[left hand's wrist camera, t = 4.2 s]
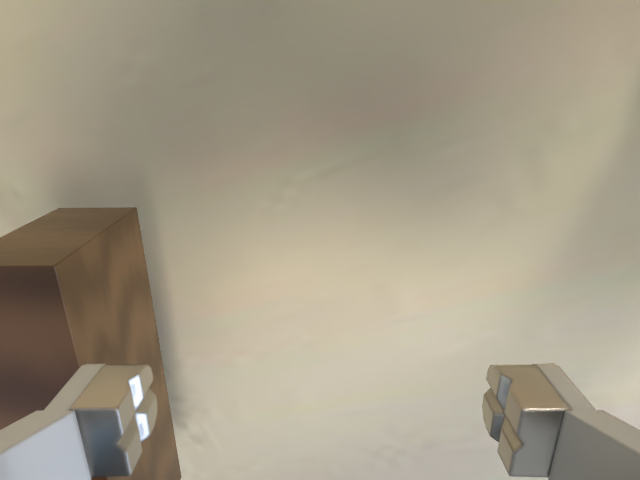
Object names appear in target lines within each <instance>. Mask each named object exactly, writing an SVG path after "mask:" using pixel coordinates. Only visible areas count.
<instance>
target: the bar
mask: <svg viewBox="0 0 640 480" xmlns="http://www.w3.org/2000/svg"><path fill="white" fill-rule="evenodd" d="M85 364H142V365H149V366H150V367H151V369H152V373H153V378H154V380H153V381H152V383H151V385H150V387H149V388H150V389H151V390H152V391H153V392H154V393H155V394H156V397H157V417H156V421H155V426H154V428H153V430H152V433H151V435H150V436H149V437H148V438H146V439H145V440H144V441H142V442H141V445H142V451H143V452H142V454H141V456H140V458H139V460H138V462H137V464H136V466H135V468H134V470H133V472H132V474H131V476H117V477H91V480H180V479H181V472H180V466H179V460H178V454H177V448H176V442H175V436H174V430H173V424H172V418H171V412H170V406H169V400H168V394H167V388H166V382H165V376H164V370H163V364H162V358H161V352H160V346H159V340H158V334H157V328H156V322H155V316H154V310H153V304H152V298H151V292H150V286H149V280H148V274H147V268H146V262H145V256H144V250H143V244H142V237H141V231H140V225H139V219H138V213H137V208H58V209H56V210H54V211H52V212H50V213H48V214H46V215H44V216H42V217H40V218H38V219H36V220H34V221H32V222H30V223H28V224H26V225H24V226H22V227H20V228H18V229H16V230H14V231H12V232H10V233H8V234H6V235H4V236H2V237H0V430H1V429H3V428H5V427H7V426H9V425H11V424H12V423H14V422H16V421H18V420H20V419H22V418H24V417H25V416H27V415H29V414H31V413H33V412H35V411H40V410H44V409H45V408H46V407H47V406H48V405H49V403H50V402H51V401H52V400H53V399H54V397H55V396H56V395H57V394H58V393H59V391H60V390H61V389H62V388H63V387H64V386H65V384H66V383H67V382H68V381H69V380H70V378H71V377H72V376H73V375H74V374H75V372H76V371H77V370H78V369H79V368H80V367H81V366H82V365H85Z"/></svg>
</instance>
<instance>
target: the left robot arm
mask: <svg viewBox="0 0 640 480" xmlns="http://www.w3.org/2000/svg"><path fill="white" fill-rule="evenodd" d="M153 380H154V378H153V373H152V369H151V367H150V366H149V365H142V364H85V365H82V366H81V367H80V368H79V369H78V370H77V371H76V372H75V374H74V375H73V376H72V377H71V378H70V380H69V381H68V382H67V383H66V384H65V386H64V387H63V388H62V389H61V390H60V391H59V393H58V394H57V395H56V396H55V397H54V399H53V400H52V401H51V402H50V403H49V405H48V406H47V407H46V408H45V409H44V410H40V411H35V412H33V413H31V414H29V415H27V416H25V417H24V418H22V419H20V420H18V421H16V422H14V423H12V424H11V425H9V426H7V427H5V428H3V429H1V430H0V480H91V477H117V476H131V474H132V472H133V470H134V468H135V466H136V464H137V462H138V460H139V458H140V456H141V454H142V452H143V451H142V445H141V442H142V441H144V440H145V439H146V438H148V437H149V436H150V435H151V433H152V430H153V428H154V426H155V421H156V417H157V397H156V394H155V393H154V392H153V391H152V390H151V389H150V388H149V387H150V385H151V383H152V381H153ZM486 380H487V381H488V383H489V385H490V387H491V388H490V389H489V390H488V391H487V392H486V393H485V394H484V397H483V405H482V407H483V418H484V422H485V425H486V428H487V430H488V433H489V435H490V436H491V437H492V438H494V439H495V440H496V441H498V442H499V445H498V451H497V452H498V454H499V456H500V458H501V460H502V462H503V464H504V466H505V468H506V470H507V472H508V474H509V476H522V477H549V480H640V430H639V429H637V428H635V427H633V426H631V425H629V424H628V423H626V422H624V421H622V420H620V419H618V418H616V417H614V416H613V415H611V414H609V413H607V412H605V411H600V410H596V409H595V408H594V407H593V406H592V405H591V403H590V402H589V401H588V400H587V399H586V397H585V396H584V395H583V394H582V393H581V392H580V390H579V389H578V388H577V387H576V386H575V384H574V383H573V382H572V381H571V380H570V378H569V377H568V376H567V375H566V374H565V373H564V371H563V370H562V369H561V368H560V367H559V366H558V365H556V364H554V363H551V364H532V365H490V367H489V369H488V373H487V378H486Z"/></svg>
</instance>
